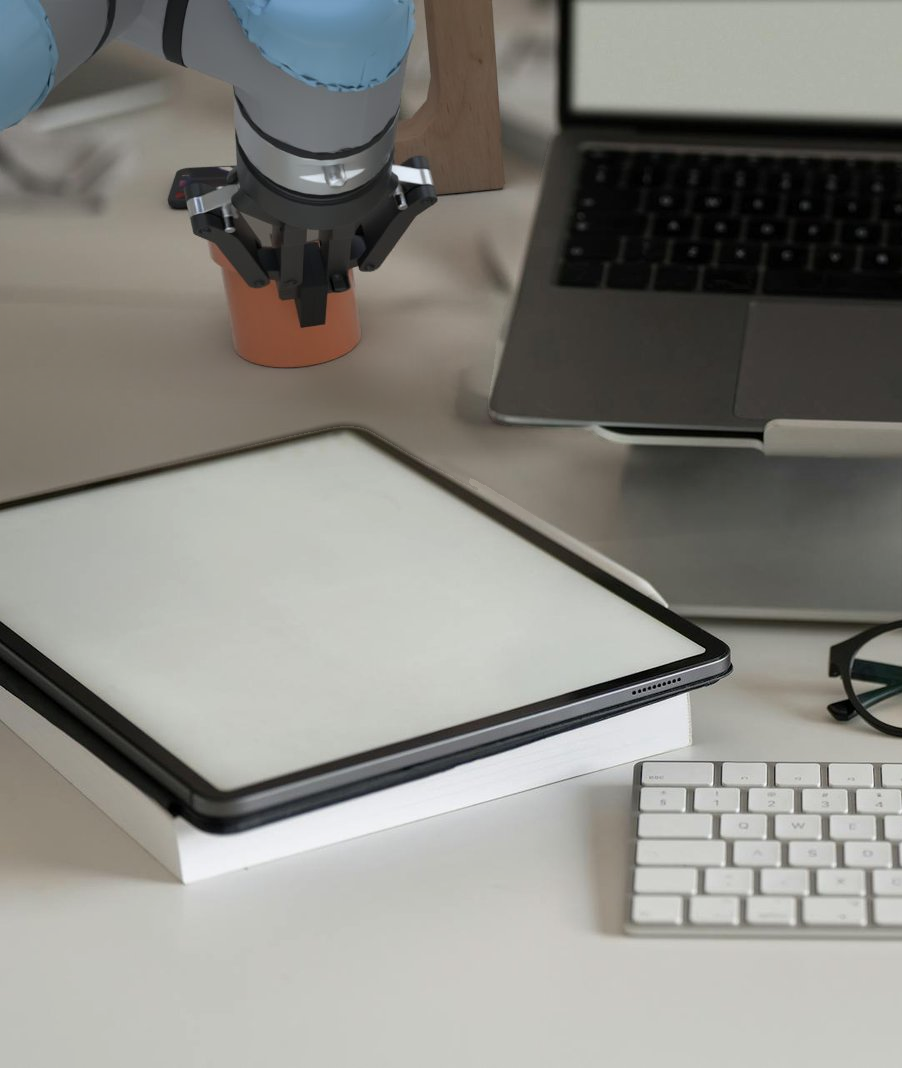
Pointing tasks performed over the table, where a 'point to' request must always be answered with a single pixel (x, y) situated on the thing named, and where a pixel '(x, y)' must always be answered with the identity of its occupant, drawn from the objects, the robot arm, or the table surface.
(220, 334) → the table surface
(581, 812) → the table surface
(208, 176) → the smartphone
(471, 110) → the wooden block
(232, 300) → the flower pot
